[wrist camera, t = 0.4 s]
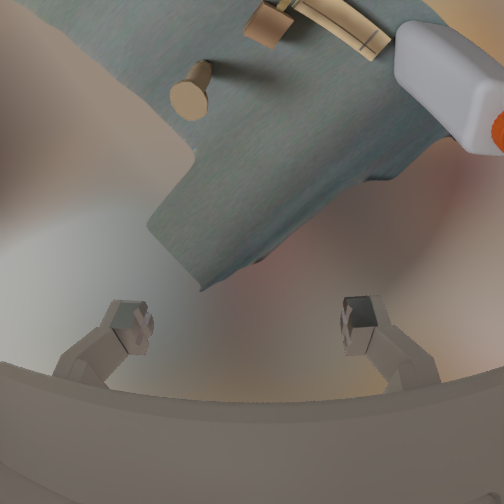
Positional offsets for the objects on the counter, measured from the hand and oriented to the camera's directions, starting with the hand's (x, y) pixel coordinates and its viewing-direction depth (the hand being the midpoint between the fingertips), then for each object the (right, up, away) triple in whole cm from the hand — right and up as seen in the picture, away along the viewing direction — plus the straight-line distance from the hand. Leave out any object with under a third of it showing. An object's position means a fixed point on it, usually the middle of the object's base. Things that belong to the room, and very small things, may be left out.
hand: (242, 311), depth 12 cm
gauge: (+4, +42, +25) cm, 49 cm away
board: (+15, +41, +26) cm, 51 cm away
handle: (-8, +35, +35) cm, 50 cm away
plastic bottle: (+33, +40, +29) cm, 59 cm away
